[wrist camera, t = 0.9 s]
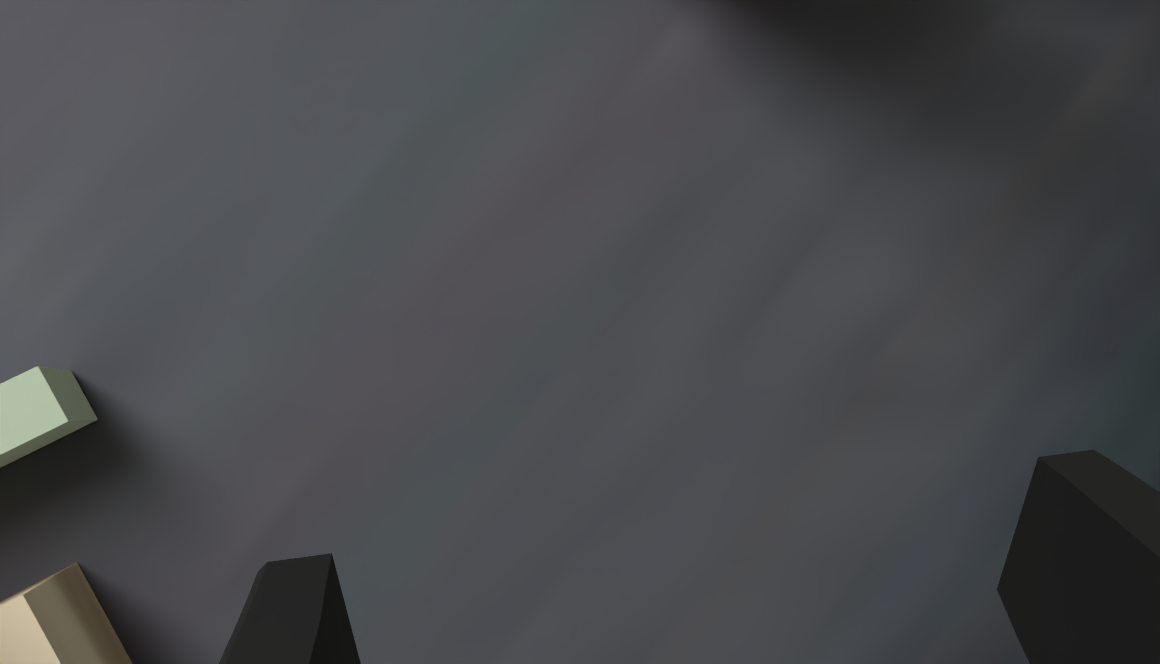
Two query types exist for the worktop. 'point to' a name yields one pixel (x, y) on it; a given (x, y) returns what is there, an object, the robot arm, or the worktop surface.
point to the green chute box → (40, 411)
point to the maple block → (58, 624)
